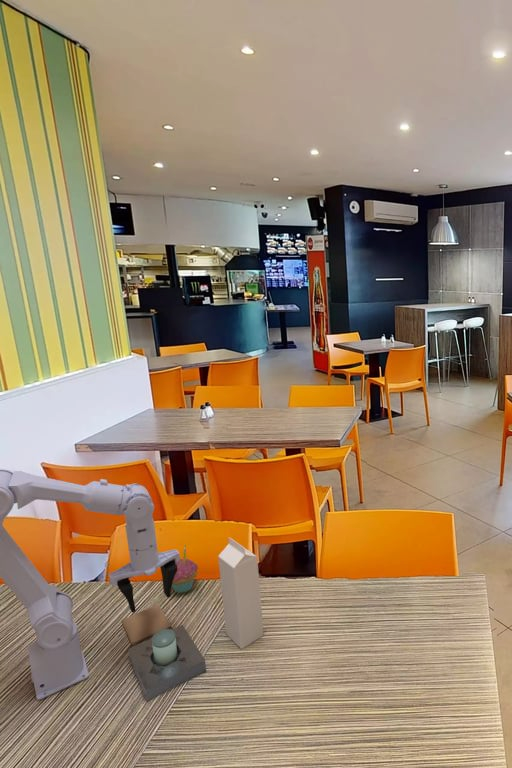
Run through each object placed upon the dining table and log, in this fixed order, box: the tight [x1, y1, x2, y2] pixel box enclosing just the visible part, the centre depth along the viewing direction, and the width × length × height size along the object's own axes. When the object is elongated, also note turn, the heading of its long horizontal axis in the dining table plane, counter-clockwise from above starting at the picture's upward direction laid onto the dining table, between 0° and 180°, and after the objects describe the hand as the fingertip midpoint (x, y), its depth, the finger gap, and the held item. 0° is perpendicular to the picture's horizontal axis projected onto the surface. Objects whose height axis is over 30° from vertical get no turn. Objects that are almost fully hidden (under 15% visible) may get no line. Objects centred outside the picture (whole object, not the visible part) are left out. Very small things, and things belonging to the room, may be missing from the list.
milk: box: [217, 537, 264, 650], centre depth 95 cm, size 6×6×22 cm
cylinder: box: [151, 628, 179, 667], centre depth 90 cm, size 5×5×6 cm
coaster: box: [120, 604, 173, 647], centre depth 103 cm, size 9×9×1 cm
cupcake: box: [171, 544, 199, 594], centre depth 114 cm, size 9×8×12 cm
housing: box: [127, 624, 207, 702], centre depth 91 cm, size 12×12×2 cm
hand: (150, 602), depth 95 cm, fingers open, 7 cm apart
